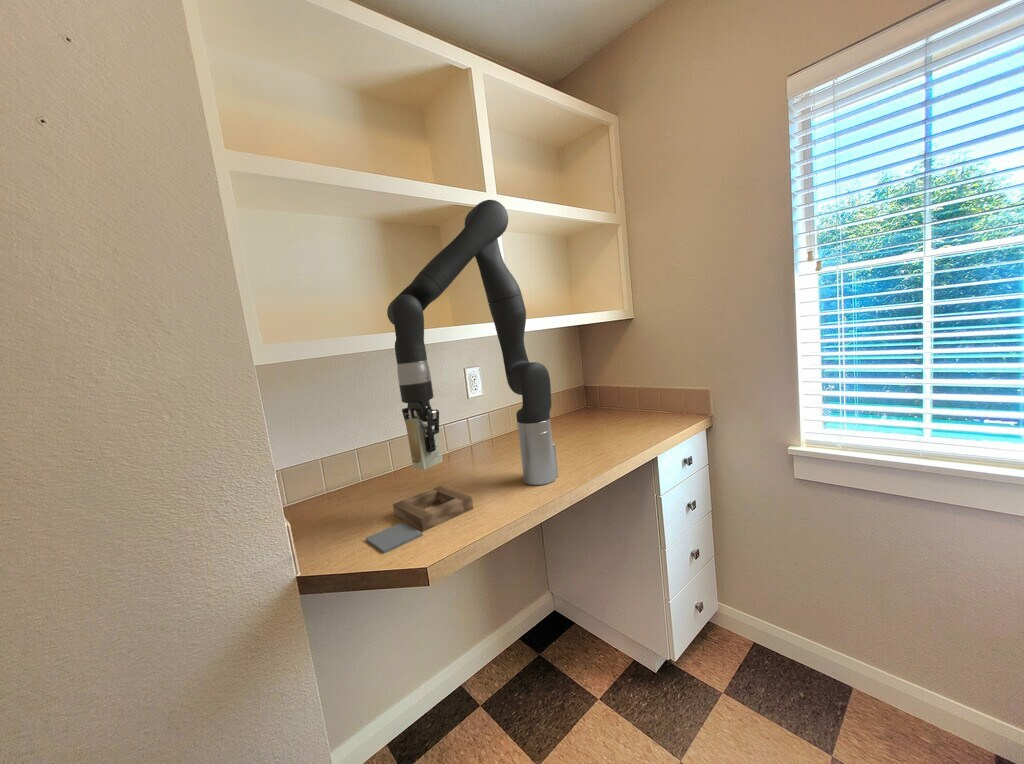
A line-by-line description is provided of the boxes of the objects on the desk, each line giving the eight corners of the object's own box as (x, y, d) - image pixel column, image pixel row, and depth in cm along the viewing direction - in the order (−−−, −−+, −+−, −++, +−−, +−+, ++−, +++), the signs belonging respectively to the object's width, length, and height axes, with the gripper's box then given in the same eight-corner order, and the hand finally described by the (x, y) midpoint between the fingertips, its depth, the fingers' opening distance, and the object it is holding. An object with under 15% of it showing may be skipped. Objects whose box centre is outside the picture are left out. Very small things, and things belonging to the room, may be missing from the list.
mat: (403, 524, 94) (402, 521, 94) (422, 535, 88) (422, 532, 87) (366, 540, 88) (365, 537, 88) (384, 553, 82) (383, 550, 81)
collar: (442, 496, 109) (440, 485, 109) (473, 508, 99) (471, 496, 98) (394, 515, 100) (392, 504, 99) (423, 531, 89) (421, 518, 89)
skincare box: (432, 460, 102) (425, 413, 100) (443, 462, 99) (436, 413, 98) (411, 468, 97) (404, 419, 95) (422, 470, 94) (415, 419, 93)
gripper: (444, 378, 93) (455, 449, 95) (414, 378, 103) (424, 442, 105) (416, 383, 88) (427, 459, 90) (387, 383, 98) (397, 450, 100)
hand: (425, 449), depth 97 cm, fingers closed on skincare box, 4 cm apart
